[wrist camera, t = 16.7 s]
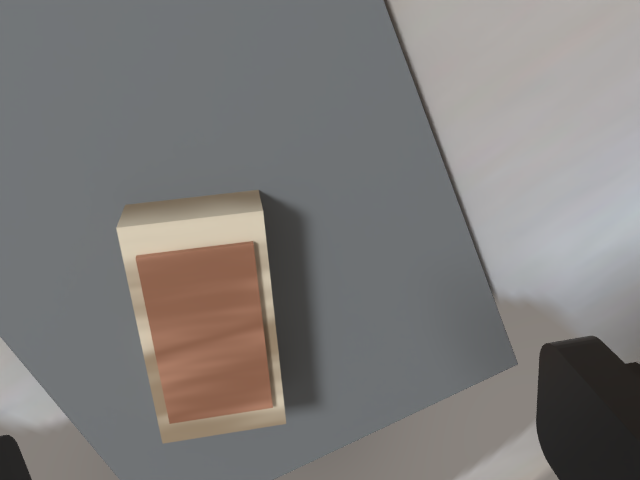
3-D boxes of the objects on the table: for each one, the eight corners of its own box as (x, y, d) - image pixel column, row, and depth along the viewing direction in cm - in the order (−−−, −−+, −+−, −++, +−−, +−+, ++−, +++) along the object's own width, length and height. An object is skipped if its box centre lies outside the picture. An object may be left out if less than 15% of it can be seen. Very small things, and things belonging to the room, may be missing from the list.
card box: (286, 427, 32) (263, 213, 27) (162, 447, 31) (115, 230, 26) (280, 389, 35) (258, 189, 30) (166, 406, 34) (125, 204, 29)
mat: (313, -181, 25) (315, -184, 24) (513, 358, 37) (518, 364, 37) (-204, 79, 26) (-213, 82, 25) (164, 523, 38) (163, 531, 37)
